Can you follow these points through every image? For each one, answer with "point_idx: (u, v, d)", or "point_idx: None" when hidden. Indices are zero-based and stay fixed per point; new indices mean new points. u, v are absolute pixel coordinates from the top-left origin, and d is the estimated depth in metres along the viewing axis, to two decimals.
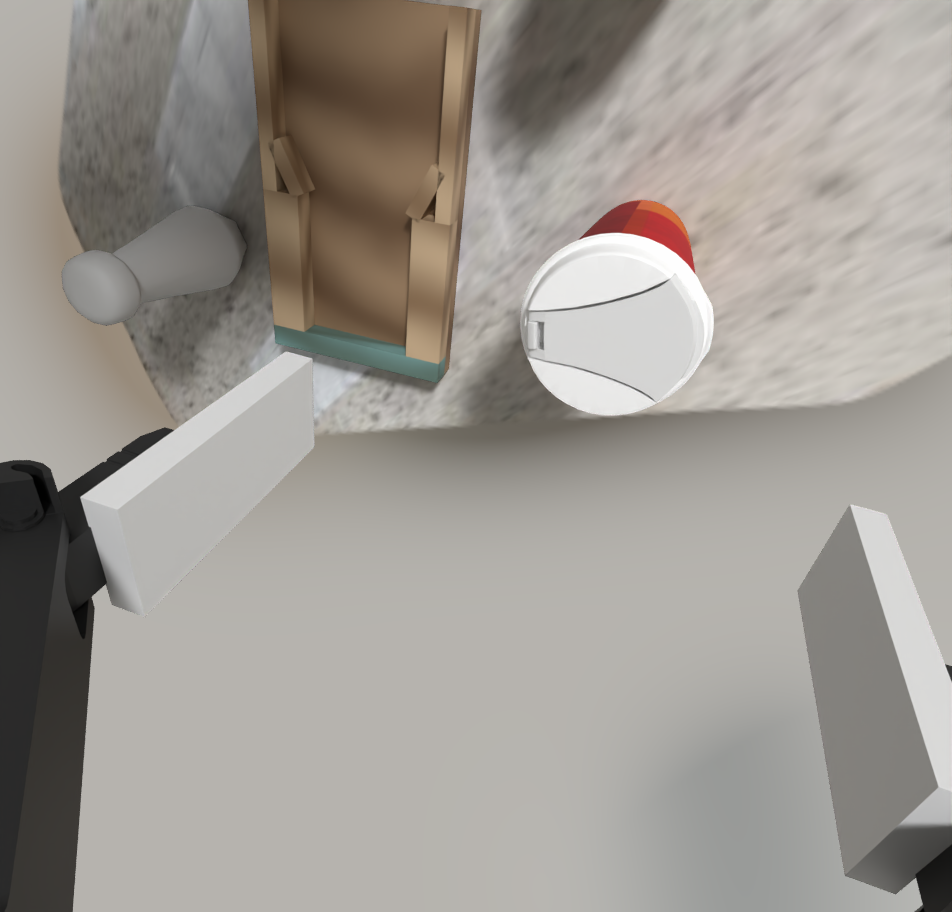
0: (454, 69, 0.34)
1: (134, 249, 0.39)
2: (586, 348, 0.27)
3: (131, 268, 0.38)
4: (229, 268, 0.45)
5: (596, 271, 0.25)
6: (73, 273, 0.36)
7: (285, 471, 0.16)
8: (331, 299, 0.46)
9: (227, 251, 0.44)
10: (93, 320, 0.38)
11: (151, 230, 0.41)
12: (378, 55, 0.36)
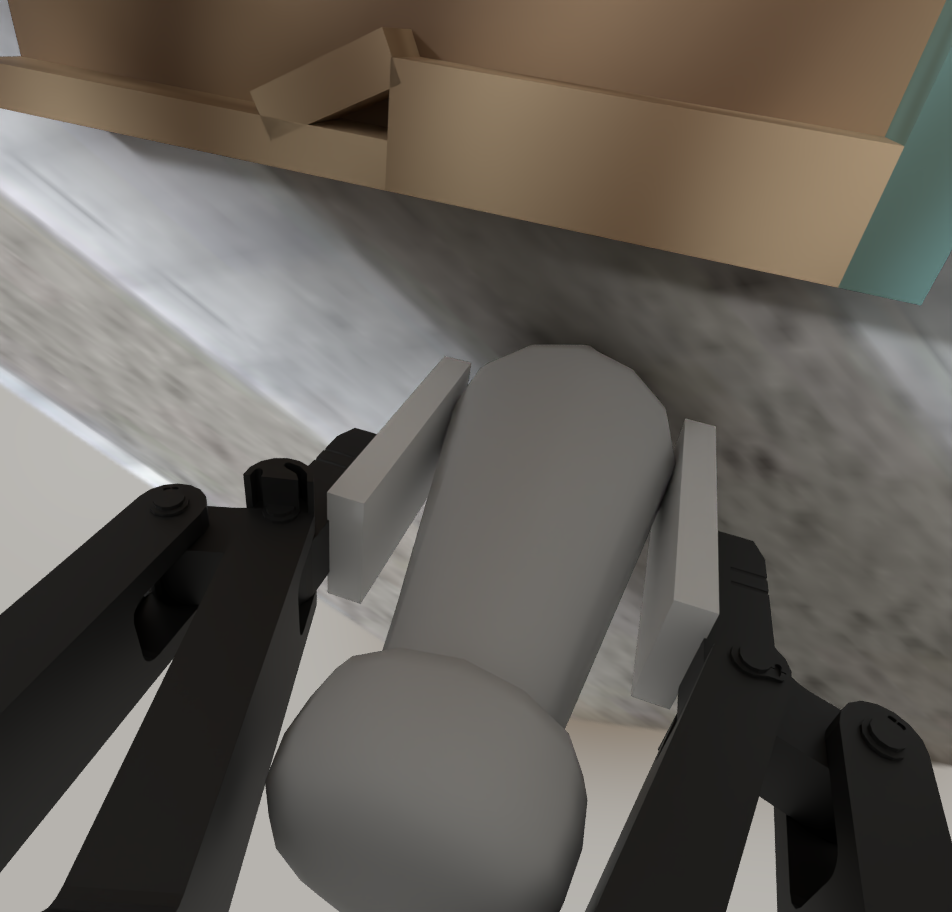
0: None
1: None
2: None
3: (403, 646, 0.09)
4: (604, 381, 0.14)
5: None
6: (304, 875, 0.08)
7: None
8: (793, 26, 0.12)
9: (551, 367, 0.14)
10: None
11: None
12: None
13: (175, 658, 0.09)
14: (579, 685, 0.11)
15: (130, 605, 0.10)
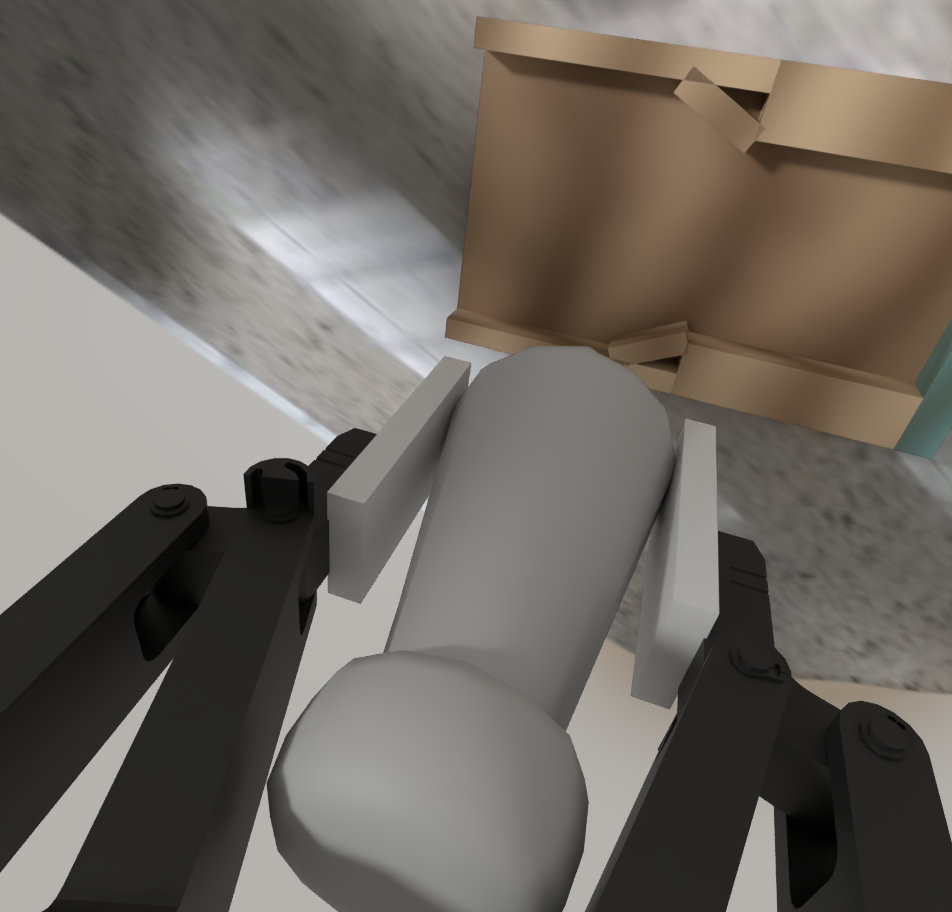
0: (546, 41, 0.23)
1: None
2: None
3: (404, 648, 0.09)
4: (605, 383, 0.14)
5: None
6: (306, 878, 0.08)
7: None
8: (873, 338, 0.26)
9: (551, 368, 0.14)
10: None
11: None
12: (530, 183, 0.27)
13: (175, 658, 0.09)
14: (580, 687, 0.11)
15: (130, 606, 0.10)
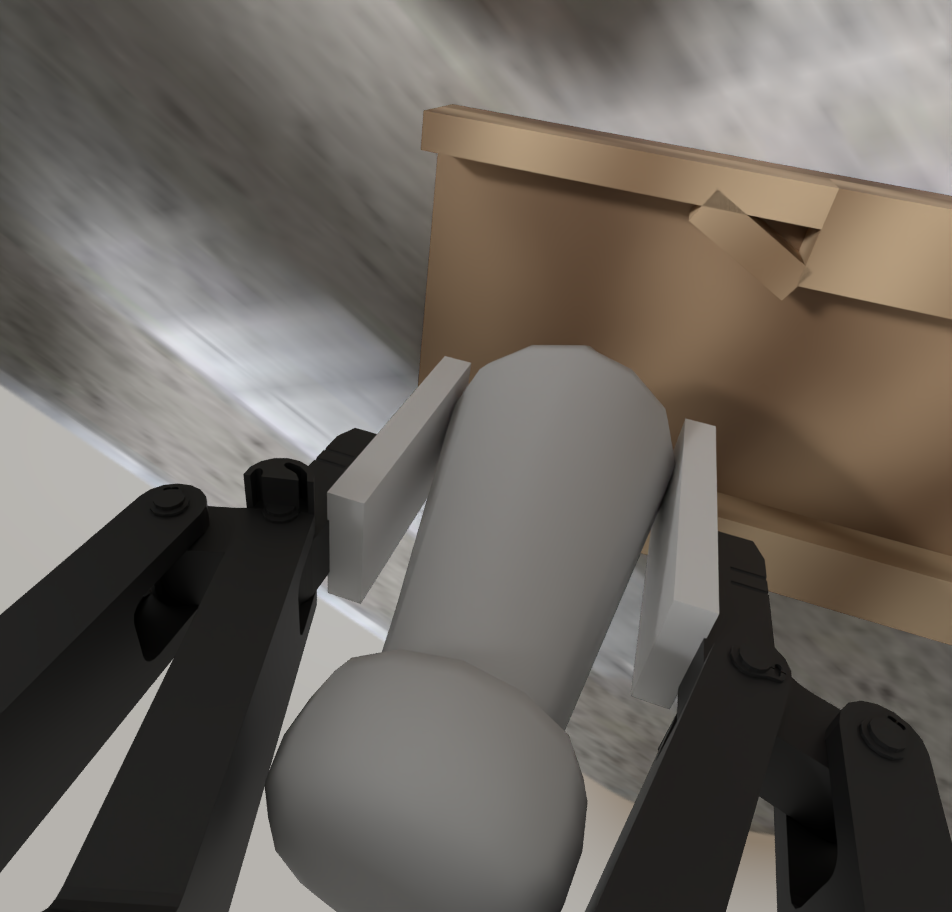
0: (517, 147, 0.17)
1: None
2: None
3: (403, 647, 0.09)
4: (604, 382, 0.14)
5: None
6: (304, 877, 0.08)
7: None
8: (936, 513, 0.21)
9: (551, 367, 0.14)
10: None
11: None
12: (501, 307, 0.21)
13: (175, 658, 0.09)
14: (579, 686, 0.11)
15: (130, 606, 0.10)
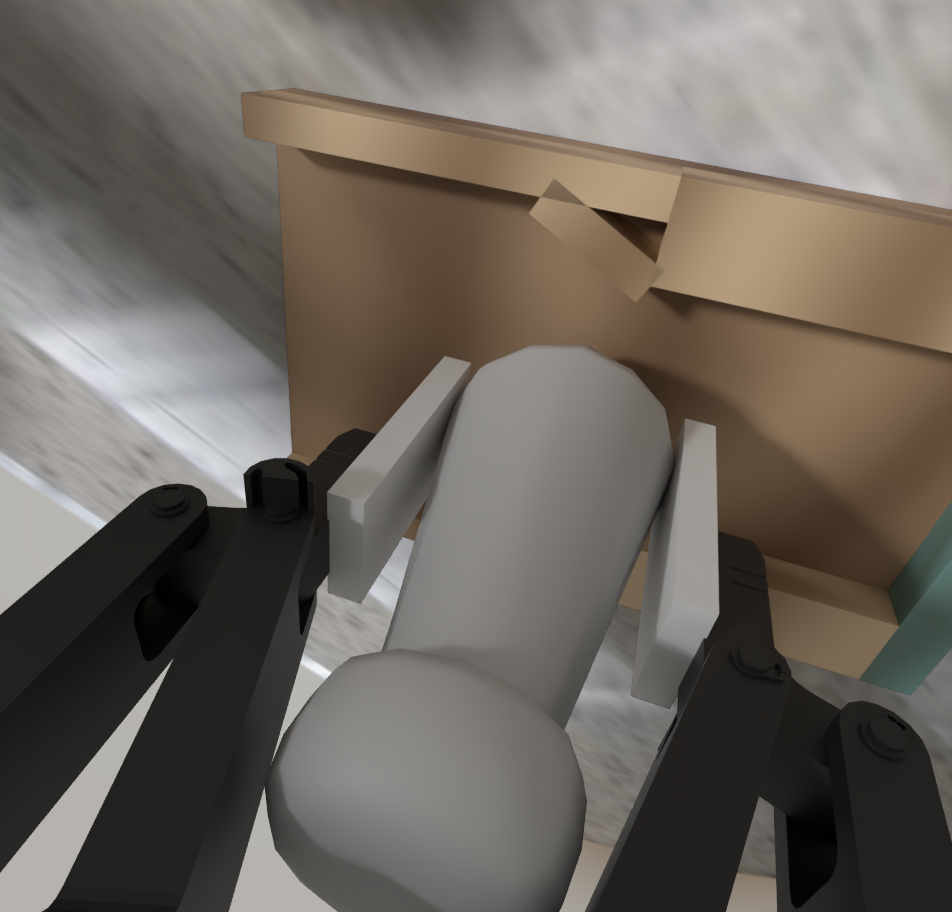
0: (342, 132, 0.16)
1: None
2: None
3: (402, 646, 0.09)
4: (603, 381, 0.14)
5: None
6: (303, 876, 0.08)
7: None
8: (831, 534, 0.19)
9: (550, 367, 0.14)
10: None
11: None
12: (361, 310, 0.20)
13: (175, 658, 0.09)
14: (578, 686, 0.11)
15: (130, 606, 0.10)
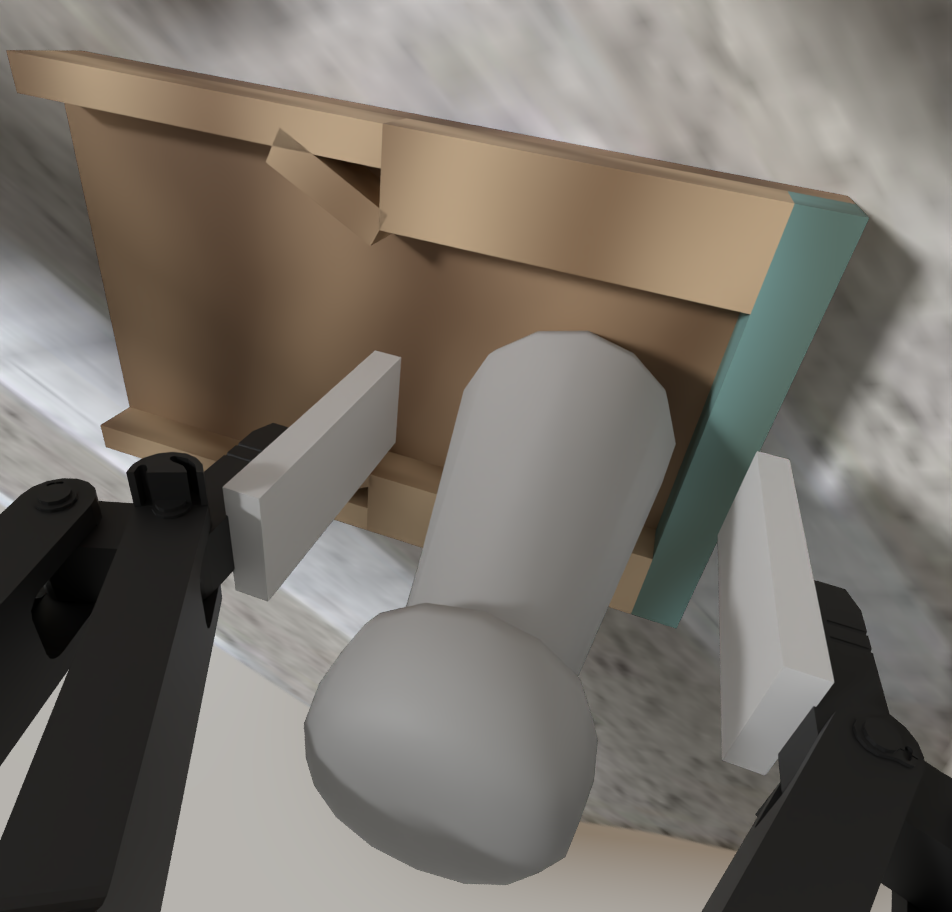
0: (97, 87, 0.17)
1: None
2: None
3: None
4: (607, 364, 0.15)
5: None
6: (341, 809, 0.09)
7: (373, 465, 0.17)
8: None
9: (556, 351, 0.15)
10: (539, 859, 0.08)
11: None
12: (164, 263, 0.21)
13: (73, 663, 0.08)
14: (587, 644, 0.12)
15: (26, 602, 0.10)
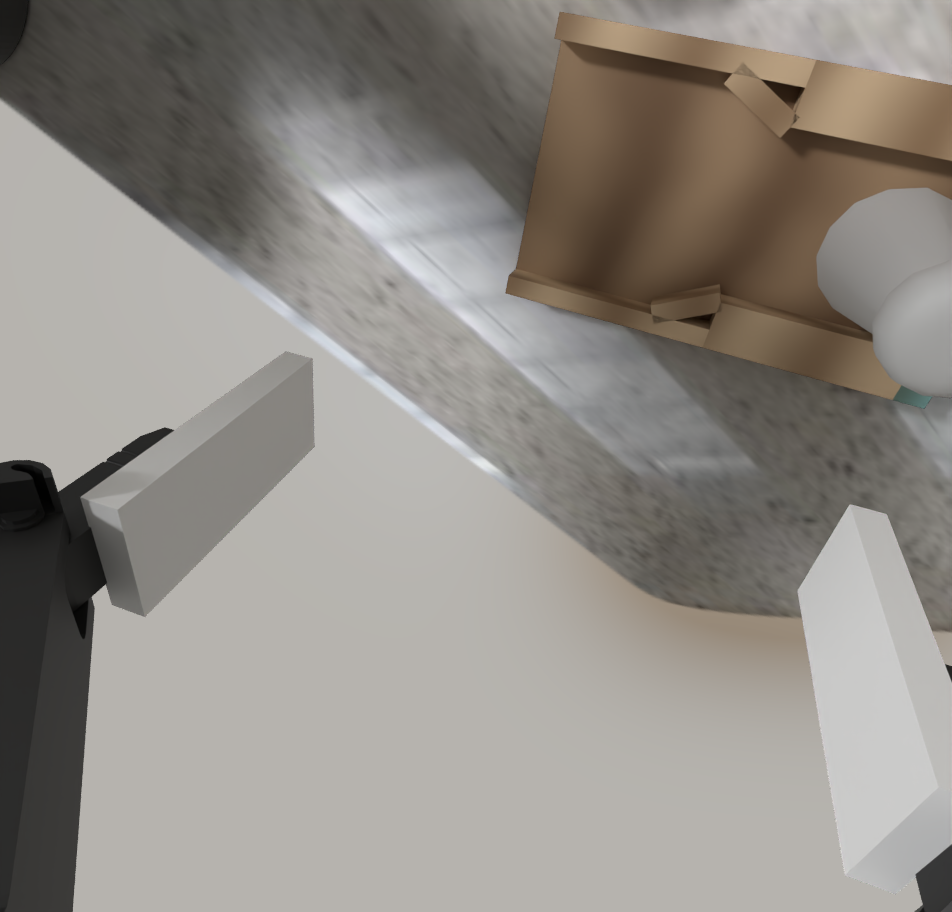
0: (618, 35, 0.28)
1: (883, 285, 0.23)
2: None
3: None
4: (946, 201, 0.26)
5: None
6: (913, 348, 0.20)
7: (285, 471, 0.16)
8: None
9: (914, 194, 0.26)
10: None
11: (849, 280, 0.25)
12: (591, 158, 0.32)
13: None
14: None
15: None
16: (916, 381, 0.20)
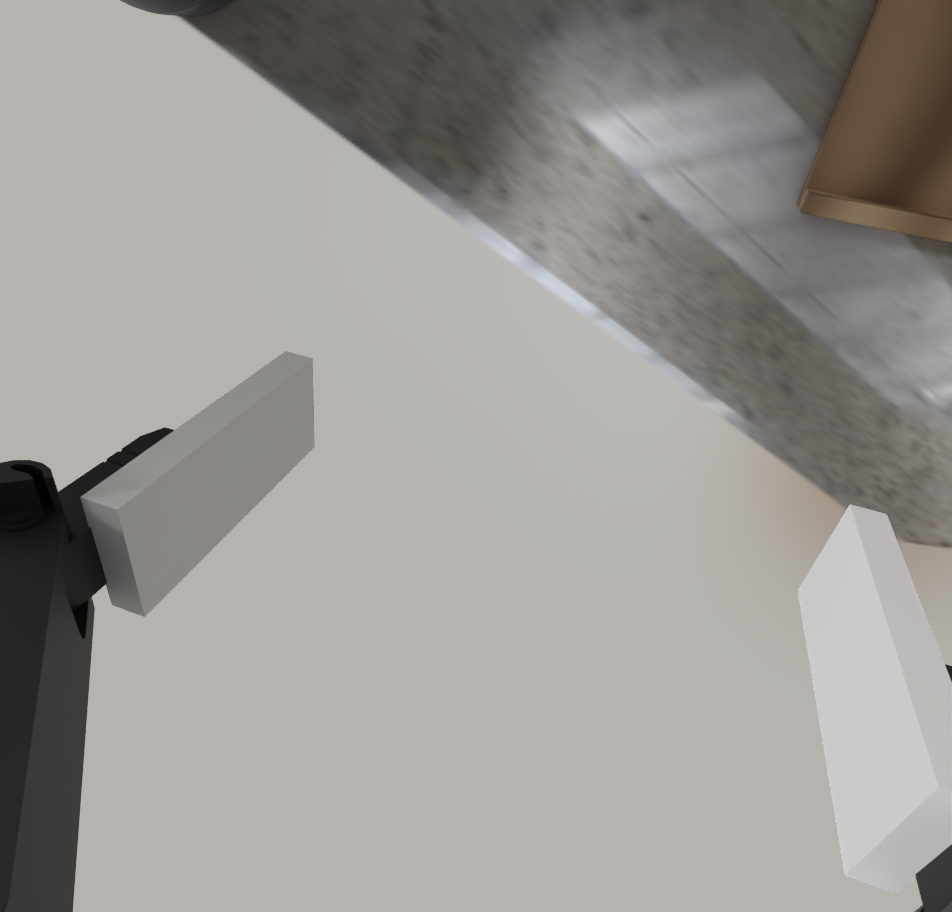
0: None
1: None
2: None
3: None
4: None
5: None
6: None
7: (285, 471, 0.16)
8: None
9: None
10: None
11: None
12: (921, 60, 0.30)
13: None
14: None
15: None
16: None
